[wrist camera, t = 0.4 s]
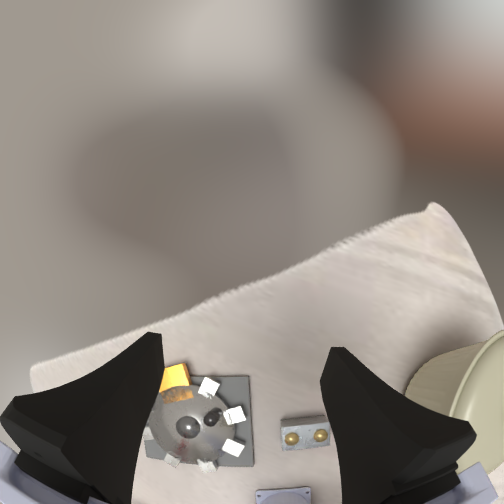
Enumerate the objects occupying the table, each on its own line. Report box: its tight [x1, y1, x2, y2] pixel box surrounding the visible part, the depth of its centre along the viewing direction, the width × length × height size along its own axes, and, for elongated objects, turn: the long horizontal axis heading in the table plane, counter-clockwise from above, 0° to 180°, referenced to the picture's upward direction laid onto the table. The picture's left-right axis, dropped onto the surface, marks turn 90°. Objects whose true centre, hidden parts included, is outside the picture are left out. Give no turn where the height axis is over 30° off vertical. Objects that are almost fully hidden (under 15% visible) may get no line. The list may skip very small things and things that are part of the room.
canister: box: [405, 330, 504, 475], centre depth 20 cm, size 18×18×21 cm
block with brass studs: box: [281, 415, 330, 451], centre depth 29 cm, size 4×6×4 cm, turn 93°
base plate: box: [144, 376, 254, 467], centre depth 31 cm, size 14×17×1 cm
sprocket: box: [143, 363, 247, 473], centre depth 28 cm, size 16×15×6 cm
